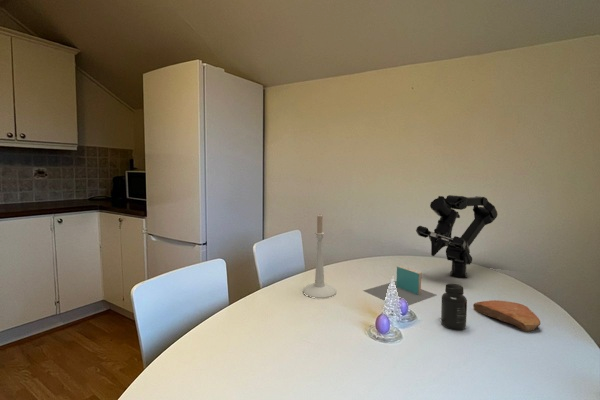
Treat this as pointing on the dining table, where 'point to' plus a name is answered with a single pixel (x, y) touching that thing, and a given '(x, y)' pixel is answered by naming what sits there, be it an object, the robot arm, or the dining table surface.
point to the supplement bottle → (454, 307)
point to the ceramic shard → (509, 313)
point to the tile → (409, 280)
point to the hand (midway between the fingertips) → (432, 255)
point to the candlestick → (319, 270)
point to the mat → (400, 294)
